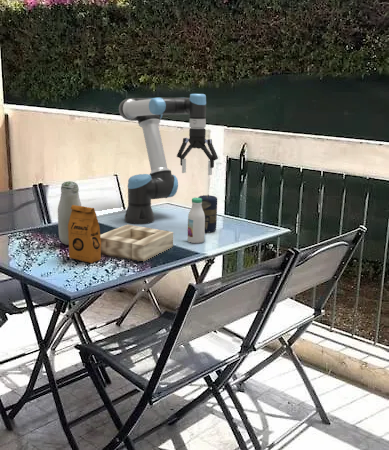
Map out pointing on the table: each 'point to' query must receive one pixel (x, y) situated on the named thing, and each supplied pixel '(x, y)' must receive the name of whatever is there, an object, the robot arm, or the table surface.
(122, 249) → the well block
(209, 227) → the canister
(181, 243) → the table surface
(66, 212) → the glass bottle
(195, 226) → the milk bottle
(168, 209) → the table surface
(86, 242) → the coffee package
